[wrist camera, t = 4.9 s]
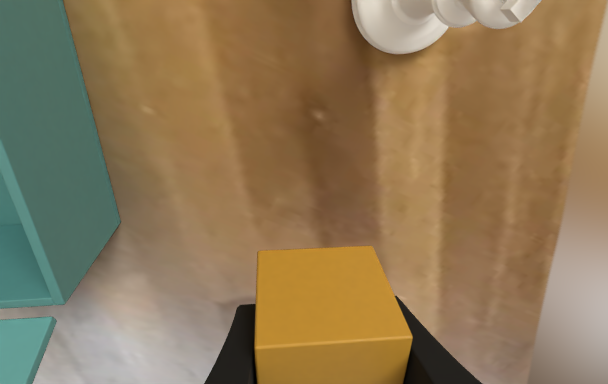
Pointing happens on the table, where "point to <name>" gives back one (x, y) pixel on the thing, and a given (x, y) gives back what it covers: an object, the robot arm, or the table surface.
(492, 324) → the table surface
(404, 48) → the chess piece
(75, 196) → the teal box
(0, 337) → the flap
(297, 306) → the cube
